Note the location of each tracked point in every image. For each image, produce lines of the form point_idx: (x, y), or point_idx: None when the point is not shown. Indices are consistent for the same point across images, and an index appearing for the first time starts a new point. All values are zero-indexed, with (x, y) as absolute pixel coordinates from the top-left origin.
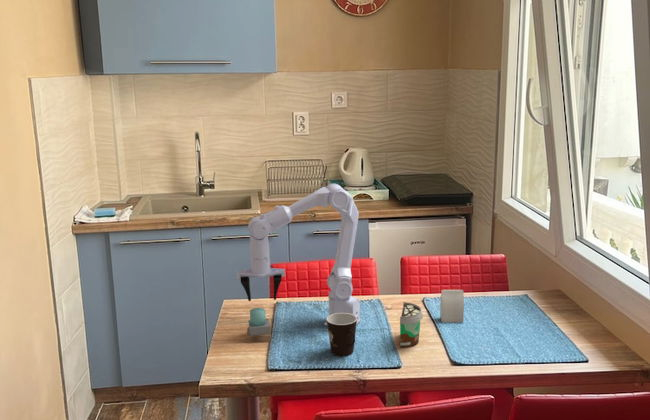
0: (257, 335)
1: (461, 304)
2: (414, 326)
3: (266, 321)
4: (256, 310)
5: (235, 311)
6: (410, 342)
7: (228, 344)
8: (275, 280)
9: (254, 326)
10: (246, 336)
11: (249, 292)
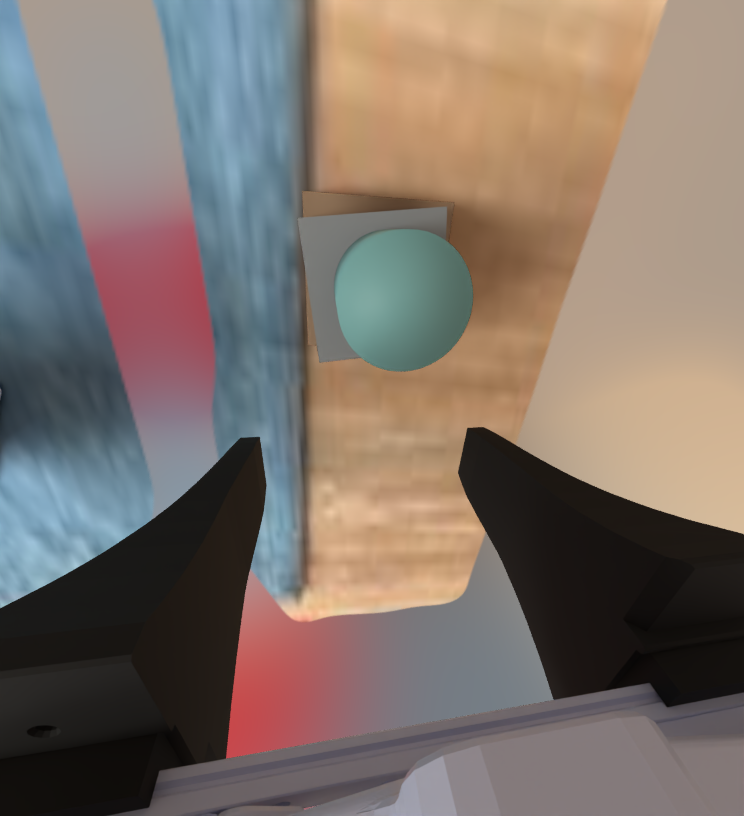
0: (384, 208)
1: None
2: None
3: (328, 315)
4: (415, 315)
5: (452, 533)
6: None
7: (536, 201)
8: (81, 639)
9: None
10: (453, 203)
11: (521, 469)
